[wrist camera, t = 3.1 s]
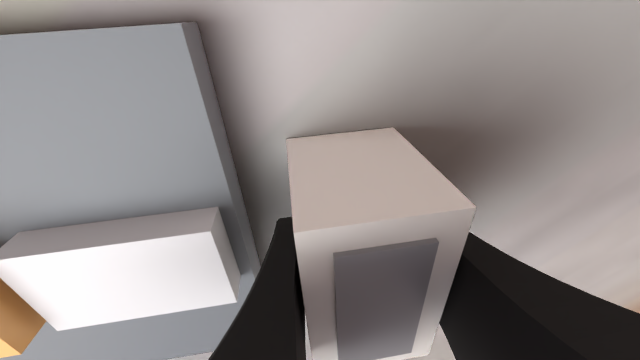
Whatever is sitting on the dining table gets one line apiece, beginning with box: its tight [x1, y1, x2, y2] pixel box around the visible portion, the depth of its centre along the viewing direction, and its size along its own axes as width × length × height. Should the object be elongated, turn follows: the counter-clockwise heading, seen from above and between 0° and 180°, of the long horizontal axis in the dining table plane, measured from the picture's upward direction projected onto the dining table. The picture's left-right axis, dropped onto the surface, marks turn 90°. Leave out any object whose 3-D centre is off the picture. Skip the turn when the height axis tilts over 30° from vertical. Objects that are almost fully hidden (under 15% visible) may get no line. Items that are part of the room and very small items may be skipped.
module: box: [286, 127, 477, 360], centre depth 9 cm, size 6×4×5 cm, turn 3°
